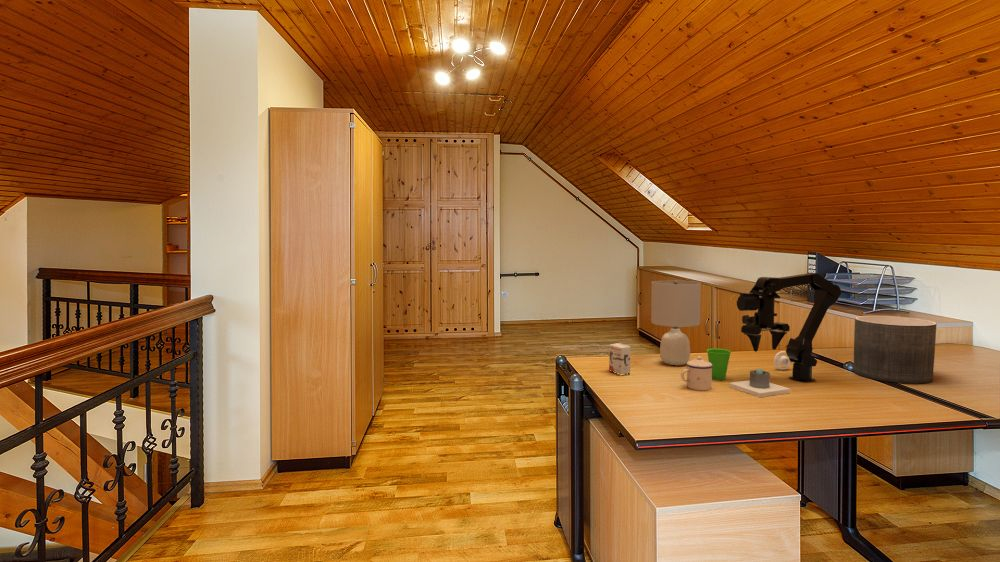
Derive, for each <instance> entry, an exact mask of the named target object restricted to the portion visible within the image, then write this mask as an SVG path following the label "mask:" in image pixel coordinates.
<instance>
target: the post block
mask: <svg viewBox="0 0 1000 562" xmlns="http://www.w3.org/2000/svg"><path fill="white" fill-rule="evenodd" d="M755 370H756V373H759V374H763V371H764V369H762V368H756V369H755ZM728 387H729V388H731V389H734V390H738V391H739V392H742V393H746V394H748V395H750V396H754V397H757V398H765V397H773V396H778V395H785V394H790V393H791V388H788V387H786V386H781V385H779V384H775V383H773V382H770V387H769V388H765V389H763V388H755V387H752V386H750V379H748V380H742V381H734V382H729V386H728Z"/></svg>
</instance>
